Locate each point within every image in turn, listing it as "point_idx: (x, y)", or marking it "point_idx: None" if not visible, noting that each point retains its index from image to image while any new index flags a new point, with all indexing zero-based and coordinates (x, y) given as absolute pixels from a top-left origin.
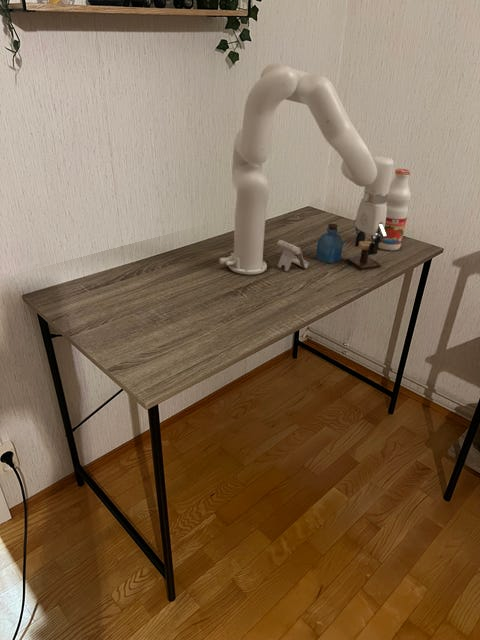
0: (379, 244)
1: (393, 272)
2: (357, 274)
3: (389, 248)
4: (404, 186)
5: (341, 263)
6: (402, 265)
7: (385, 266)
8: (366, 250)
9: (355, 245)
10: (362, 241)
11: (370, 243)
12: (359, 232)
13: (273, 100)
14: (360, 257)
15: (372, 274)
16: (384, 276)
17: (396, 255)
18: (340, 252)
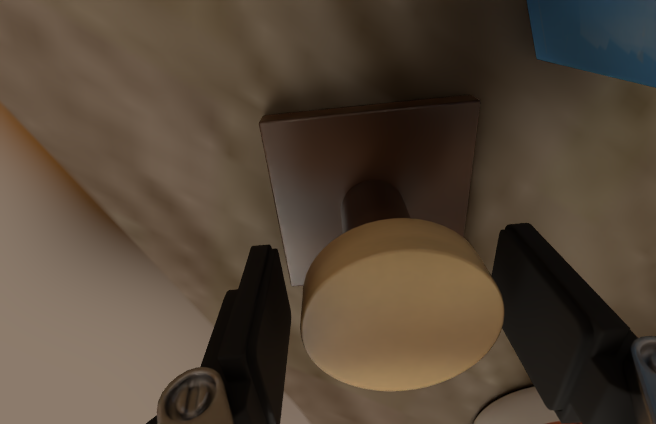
0: None
1: (201, 302)
2: (172, 33)
3: (487, 418)
4: None
5: (445, 6)
6: (290, 378)
7: (295, 304)
8: None
9: (525, 227)
10: (485, 317)
11: (235, 352)
12: (639, 406)
13: None
14: (392, 196)
15: (171, 165)
16: (136, 227)
17: (416, 406)
18: (580, 44)
